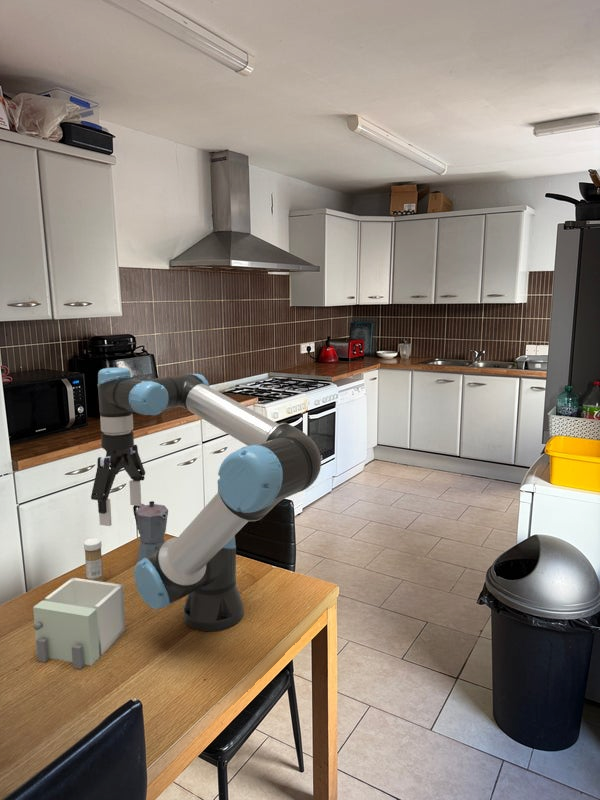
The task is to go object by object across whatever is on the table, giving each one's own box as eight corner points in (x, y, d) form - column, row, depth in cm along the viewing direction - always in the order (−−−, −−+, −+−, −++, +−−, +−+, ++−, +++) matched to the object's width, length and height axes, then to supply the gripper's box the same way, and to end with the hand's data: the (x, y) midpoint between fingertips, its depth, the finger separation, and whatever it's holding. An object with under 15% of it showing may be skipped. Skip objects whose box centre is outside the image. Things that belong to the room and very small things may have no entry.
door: (99, 657, 125) (96, 608, 123) (88, 669, 121) (84, 619, 119) (46, 647, 129) (42, 600, 127) (33, 659, 125) (29, 610, 123)
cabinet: (125, 630, 136) (123, 584, 134) (86, 670, 121) (83, 619, 119) (75, 622, 139) (72, 577, 137) (32, 659, 124) (27, 610, 122)
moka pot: (157, 575, 163) (154, 510, 159) (121, 562, 171) (118, 500, 168) (180, 562, 171) (178, 500, 167) (145, 550, 179) (142, 491, 176)
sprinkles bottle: (104, 581, 159) (102, 536, 157) (102, 589, 155) (100, 543, 153) (87, 582, 158) (85, 538, 156) (85, 590, 154) (82, 545, 152)
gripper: (131, 420, 148) (134, 496, 151) (70, 443, 124) (76, 532, 128) (156, 421, 146) (159, 499, 150) (100, 445, 122) (105, 536, 126)
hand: (121, 514), depth 139 cm, fingers open, 13 cm apart
